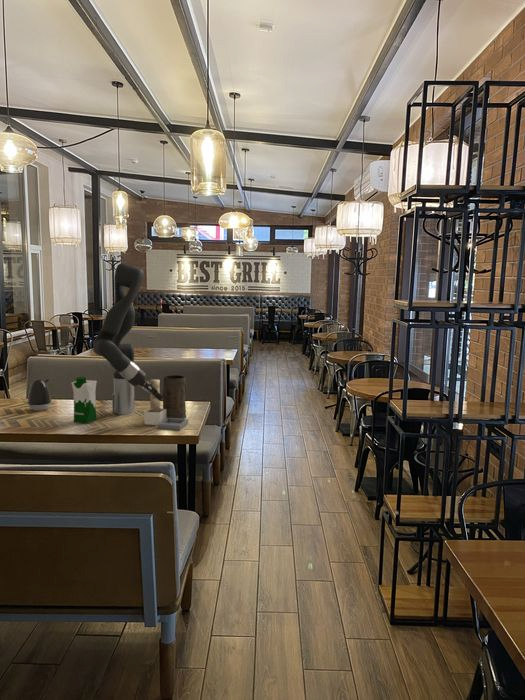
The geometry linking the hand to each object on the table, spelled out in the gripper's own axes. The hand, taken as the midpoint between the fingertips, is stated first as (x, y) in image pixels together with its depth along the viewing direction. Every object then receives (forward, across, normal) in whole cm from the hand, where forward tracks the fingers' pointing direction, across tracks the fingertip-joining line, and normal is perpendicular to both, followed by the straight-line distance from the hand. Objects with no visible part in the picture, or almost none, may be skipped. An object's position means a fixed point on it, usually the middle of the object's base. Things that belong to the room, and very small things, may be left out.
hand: (159, 397), depth 213 cm
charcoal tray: (+10, -9, +6) cm, 15 cm away
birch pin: (+4, 0, +7) cm, 8 cm away
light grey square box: (+7, 0, +10) cm, 12 cm away
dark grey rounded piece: (-21, +48, +38) cm, 65 cm away
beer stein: (+16, +5, +1) cm, 17 cm away
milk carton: (-11, +19, +28) cm, 35 cm away
